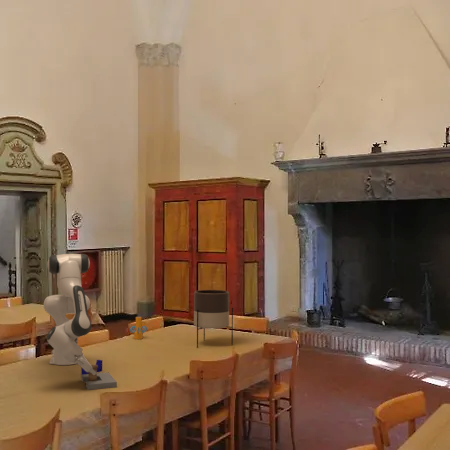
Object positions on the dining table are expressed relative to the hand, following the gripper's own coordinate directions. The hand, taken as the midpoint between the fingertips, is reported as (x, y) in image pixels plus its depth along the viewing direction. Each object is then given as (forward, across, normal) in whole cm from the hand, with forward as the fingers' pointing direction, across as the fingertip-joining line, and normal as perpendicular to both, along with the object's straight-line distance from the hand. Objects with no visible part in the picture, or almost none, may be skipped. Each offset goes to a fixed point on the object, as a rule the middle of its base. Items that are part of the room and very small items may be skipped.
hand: (93, 371), depth 296 cm
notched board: (+6, 0, +2) cm, 7 cm away
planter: (+68, +68, -59) cm, 113 cm away
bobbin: (+4, 0, +5) cm, 6 cm away
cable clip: (+7, +21, +2) cm, 22 cm away
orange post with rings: (+40, +105, -31) cm, 116 cm away
